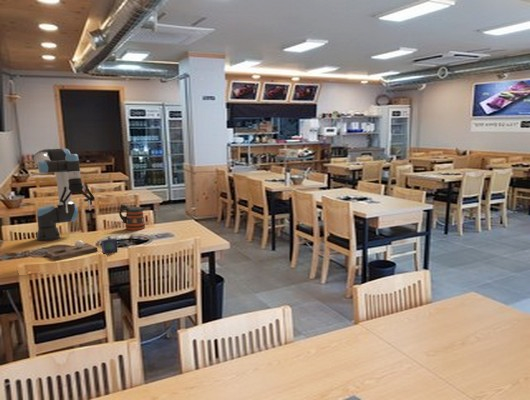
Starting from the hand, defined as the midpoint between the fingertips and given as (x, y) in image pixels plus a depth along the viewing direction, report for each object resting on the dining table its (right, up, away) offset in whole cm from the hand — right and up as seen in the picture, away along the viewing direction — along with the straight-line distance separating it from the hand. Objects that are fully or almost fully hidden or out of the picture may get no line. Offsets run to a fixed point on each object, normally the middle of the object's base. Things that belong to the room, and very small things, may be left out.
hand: (78, 211), depth 261 cm
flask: (+20, -27, +1) cm, 33 cm away
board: (-5, -27, 0) cm, 27 cm away
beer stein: (+13, -16, +66) cm, 69 cm away
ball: (-1, -21, +3) cm, 21 cm away
